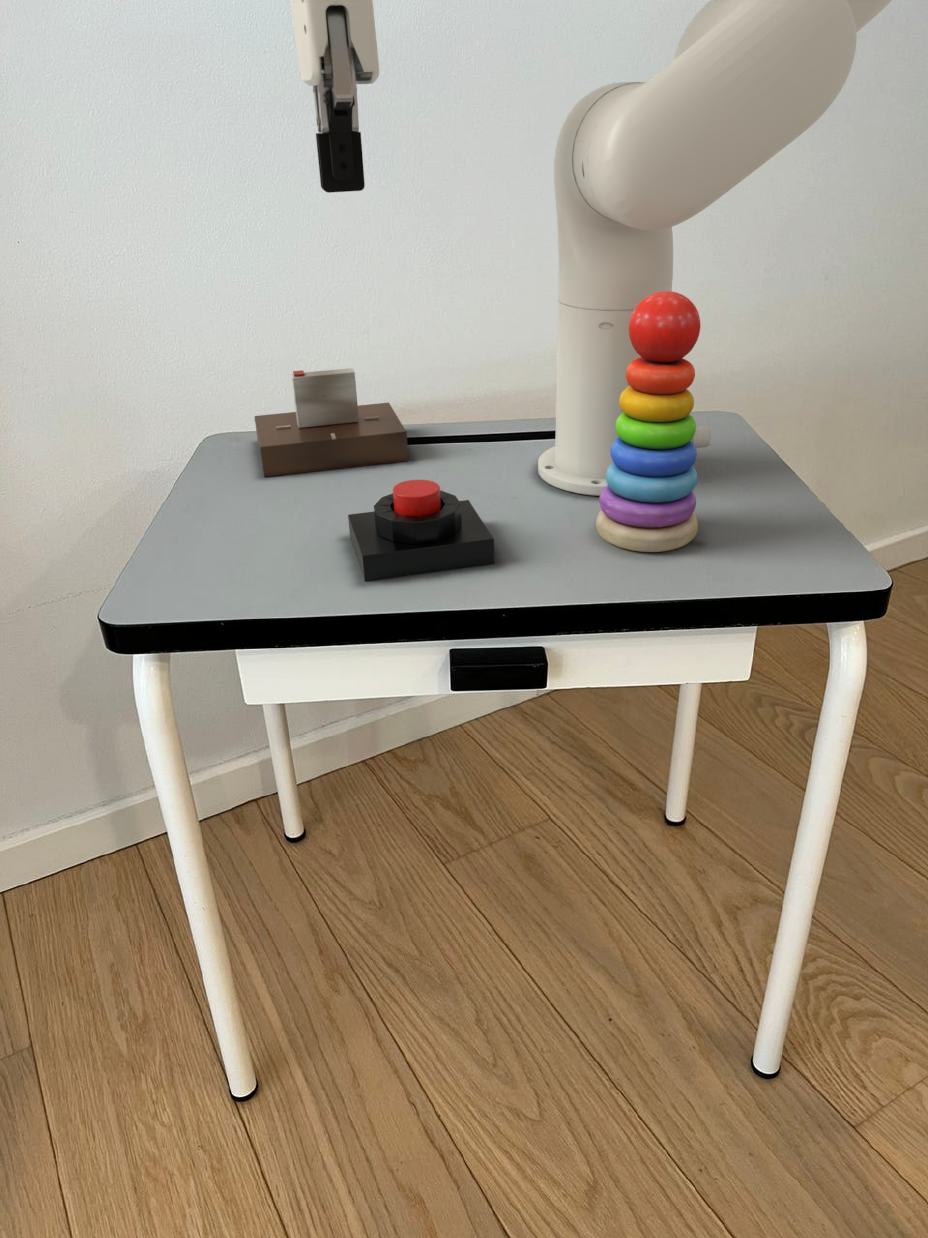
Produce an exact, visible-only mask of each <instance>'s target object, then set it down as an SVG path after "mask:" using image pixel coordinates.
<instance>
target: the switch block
mask: <svg viewBox="0 0 928 1238" xmlns="http://www.w3.org/2000/svg"><path fill="white" fill-rule="evenodd" d="M440 498H441V509H440V511H437V512H435V513H432V514H429V515H421V516H409V515H401V514H398V513H396V512H395V511H394V500H393V492H392V493H390V494H386V495H385V496H382V497H381V498H380V499H379V500H378V501H376V503H375V504H374V505H373V511H367V512H366V511H365V512H361V513H360V512H359V513H358V512H357V513H350V514H348V515H347V518H348V519H347V520H348V529H349V538H350V542H351V545H352V548H353V551H354V554H355V557H356V561H357V563H358V566H359V569H360V571H361V575H362V578H363V580H364V583H367V582H374V581H381V580H388V579H394V578H395V579H397V578H403V577H404V578H405V577H411V576H418V575H425V574H433V573H439V572H440V573H441V572H448V571H454V570H461V569H462V570H463V569H469V568H477V567H482V566H483V567H485V566H490V565H495V538H494V537H493V535H492V533H491V532H490V531H489V529H488V527H487V526H486V524H485V523H484V521H483V520H482V518H481V517H480V515H479V514H478V513H477V510H476V509H475V508H474V506H473V505H472V503H471V502H470V500H469V499H464V500H459V499H458V497H457V496H456V495H455V494H452V493H450V492H446V491H444V490H441V489H440Z"/></svg>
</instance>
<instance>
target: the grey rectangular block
mask: <svg viewBox="0 0 928 1238" xmlns="http://www.w3.org/2000/svg"><path fill="white" fill-rule="evenodd" d="M290 376H291V384H292V385H291V386H292V392H293V400H294V409H295V412H296V418H297V424H298V428H305V427H314V426H324V425H334V424H343V423H353V422H359V416H358V406H359V405H358V394H357V384H356V383H357V381H356V372H355V371H354V369H353V367H349V368H339V369H338V368H337V369H325V370H316V371H305V370H304V369H302V370H293V371H292V373H291V374H290Z"/></svg>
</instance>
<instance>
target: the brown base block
mask: <svg viewBox="0 0 928 1238" xmlns="http://www.w3.org/2000/svg"><path fill="white" fill-rule="evenodd" d="M358 416H359V422H353V423H343V424H334V425H324V426H314V427H305V428H298V424H297V418H296V411H291V412H281V413H280V412H279V413H271V414H261V415H254V423H255V430H256V439H257V444H258V450H259V456H260V463H261V468H262V474H263V477H264V478H267V477H275V476H285V475H286V476H287V475H292V474H303V473H304V474H305V473H312V472H320V471H329V470H338V469H346V468H348V469H349V468H357V467H364V466H365V467H366V466H374V465H382V464H383V465H384V464H392V463H401V462H409V447H408V446H409V445H408V433H407V430H406V428H405V427H404V424H402V422H401V420H400V419H399V417H398V415H397V413H396V412H395V410H394V408H393V407H392V405H391V404H390V402H380V403H371V404H361V405H358Z"/></svg>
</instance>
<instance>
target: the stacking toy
mask: <svg viewBox="0 0 928 1238" xmlns="http://www.w3.org/2000/svg"><path fill="white" fill-rule="evenodd" d="M699 313H700V312H699V311H698V309H697V307H696V305H695V304H694V302H693V301H692V300H691V299H689V297H687V296H685V295H683V294H682V293H679V292H676V291H673V290H672V291H662V292H656V293H654V294H651V295H649V296H647V297H646V298H644V299H643V300H642V301H641V302H640V303H639V304H638V305H637V306H636V308H635V309H634V311H633V313H632V315H631V318H630V322H629V337H630V341H631V344H632V346H633V348H634V349H635V351H636V352H637V353H638V354H639V355H640V356H641V357H640V358H637V359H635V360H633V361H632V362H631V363H630V364H629V365H628V367H627V369H626V380H627V382H628V384H629V385H630V386H629V387H627V388H626V389H625V390H624V391H623V392H622V393H621V395H620V398H619V405H620V408H621V410H622V411H623V413H622V414H620V416H619V417H618V418H617V421H616V432H617V435H618V436H619V437H618V438H617V439H616V440H615V441H614V442H613V444H612V446H611V451H610V453H611V458H612V461H613V463H612V464H611V465H610V466H609V468H608V470H607V473H606V481H607V484H608V485H606V486H605V487H604V489H603V490H602V491H601V494H600V496H598V497H599V498H598V503H599V506H600V511H599V512H598V514H597V516H596V520H595V527H596V530H597V532H598V534H599V536H601V538H602V539H604V540H605V541H606V542H608V543H609V544H612V545H613V546H616V547H618V548H622V549H624V550H629V551H633V552H639V553H640V552H641V553H660V552H661V553H662V552H668V551H672V550H677V549H680V548H682V547H684V546H686V545H688V544H689V543H690V542H691V541H692V540H693V539H694V538H695V537H696V535H697V534H698V530H699V523H698V521H699V520H698V519H697V516H696V515H695V513H694V512H695V510H696V506H697V498H696V495H695V492H693V491H694V489H695V488H696V486H697V484H698V472H697V470H696V468H695V466H694V464H695V462H696V460H697V456H698V454H697V453H698V452H697V448H696V447H695V445H694V444H693V443H692V441H691V440H692V438H693V437H694V435H695V431H696V427H697V423H696V420H695V419H694V417H693V416H692V415H691V412H692V411H693V409H694V406H695V399H694V395H693V394H692V392H691V391H690V390H689V388H690V386H692V384H693V382H694V380H695V377H696V370H695V367H694V365H693V364H692V363H691V362H690V361H689V360H687V359H686V358H685V357H686V356H687V355H688V354H689V353H690V352H692V350H693V349H694V347H695V346H696V343H697V342H698V339H699V336H700V332H701V318H700V314H699Z"/></svg>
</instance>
